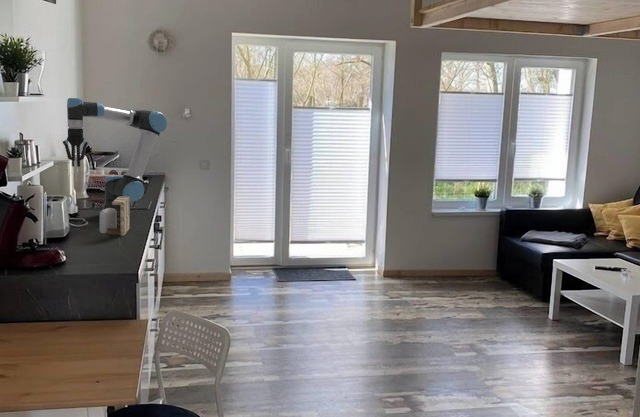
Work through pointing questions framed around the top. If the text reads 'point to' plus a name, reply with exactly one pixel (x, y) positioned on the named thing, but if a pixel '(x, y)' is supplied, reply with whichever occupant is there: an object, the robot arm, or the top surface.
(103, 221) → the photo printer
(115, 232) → the shelf
